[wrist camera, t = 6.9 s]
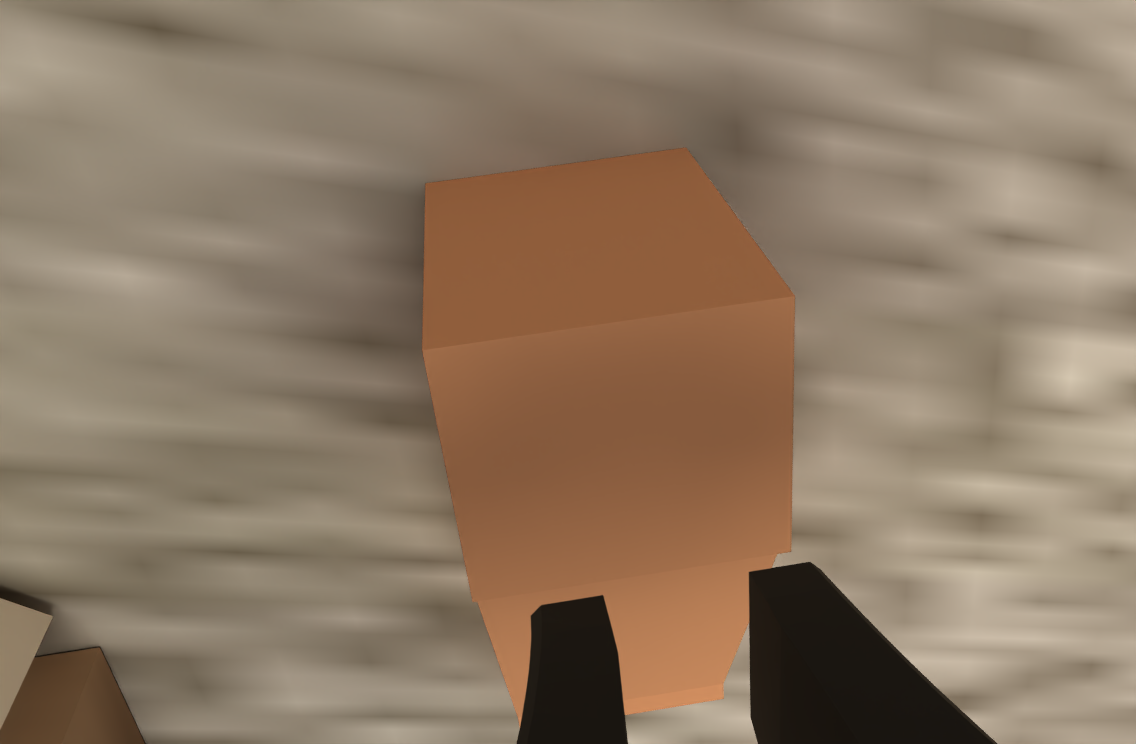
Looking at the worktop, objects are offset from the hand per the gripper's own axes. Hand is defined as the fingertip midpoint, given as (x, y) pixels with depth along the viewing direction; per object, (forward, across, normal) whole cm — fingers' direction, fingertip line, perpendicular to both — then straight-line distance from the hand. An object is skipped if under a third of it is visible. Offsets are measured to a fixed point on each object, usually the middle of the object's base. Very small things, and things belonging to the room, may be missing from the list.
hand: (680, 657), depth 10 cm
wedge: (+10, 0, +4) cm, 10 cm away
